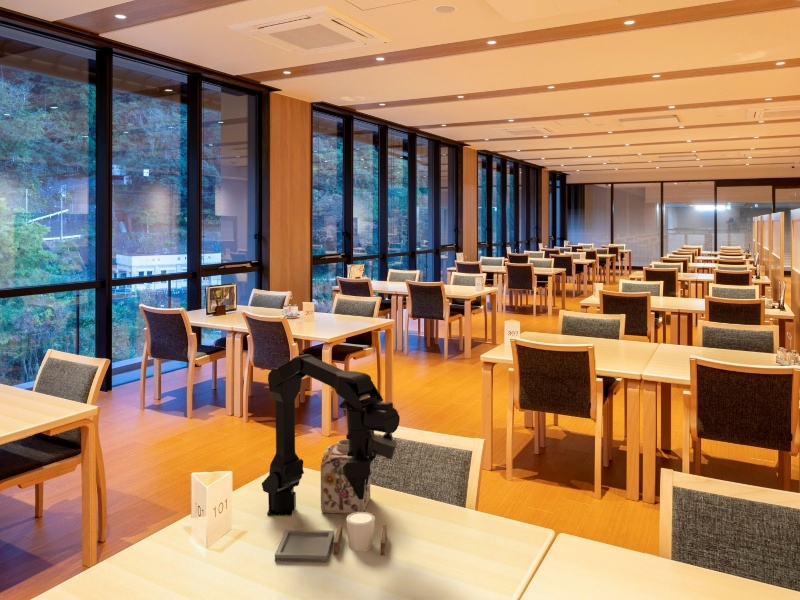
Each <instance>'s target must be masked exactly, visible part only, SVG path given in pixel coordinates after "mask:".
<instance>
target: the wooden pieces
mask: <svg viewBox="0 0 800 600" xmlns="http://www.w3.org/2000/svg"><path fill="white" fill-rule="evenodd" d="M387 526H388V525H387V524H383V525H382V526H381V527H382V528H381V535H380V544H379V545H380V551H379V553H380V554H379V555H380V556H385V555H386V545H387V538H388V537H387V536H388V534H387V533H388V531H387V529H388V527H387ZM342 539H343V524H341V523H340V524H339V523H338V524H337V527H336V531H335V533H334V538H333V542H332V546H333V551H332V552H333V555H339V551H340V546H341V543H342Z"/></svg>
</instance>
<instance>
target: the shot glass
mask: <svg viewBox="0 0 800 600" xmlns="http://www.w3.org/2000/svg"><path fill="white" fill-rule="evenodd" d="M375 521H376V517H375V515H373V513H371V512H365V511H364V512H356V513H352V514H347V517H346V526H347V527H346V528H347V529H346V530H347V537H348V538H347V539H348V547H349V548H350V549H351V550H352V551H355V552H365V551H369V550H370V549H372V547H373V542H374V533H375V532H374V531H375Z"/></svg>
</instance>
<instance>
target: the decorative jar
mask: <svg viewBox="0 0 800 600" xmlns="http://www.w3.org/2000/svg"><path fill="white" fill-rule="evenodd" d="M348 450H349V447H348V439H339V440H338V441H337V443H334V444H331V445H328V446H327V447H326V448H325V449H324V452H323V454H322V455H323V456H322V458H321V462H320V510H321V511H320V512H321V513H323V514H324V513H325V514H340V515H341V514H342V515H350V514H352V513H356V512H365V510H366V508H367V506H368V504H369V501H370V499H371V475H370V476H369V479H368V485H365V491H364V498H363V499H358V497H357V495H356V493H355V491H354V490H353V488H352V486H351V484H350V483H349V481H348V479H347V478H346V477H345V475H343V465H344V463H345V461H346V460H347V459H348V458H352V456H348V454H347V452H348Z"/></svg>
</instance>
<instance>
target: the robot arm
mask: <svg viewBox="0 0 800 600" xmlns="http://www.w3.org/2000/svg"><path fill="white" fill-rule="evenodd" d="M306 376H308V377H310V378H312V379H314V380H316V381H318V382H321V383H323V384H325V385H327V386H329V387H331V388H332V389H334V391H335V393H336V395H338V396H339V397H340V398H342V399H343V401H342V402H341V403H340V404H339V405H338V407H339V408H340V409H344V410H345V414H346V415H345V416H346V428H347V430H346V431H347V433H346V435H345V436H346V437H345V438H346V439H348V447H349V450H348V452H347V454H348V456H352V458H348V459H347V460H346V461H345V463H344V465H343V475H345V477H346V478H347V479H348V481H349V483H350V484H351V486H352V488H353V490H354V491H355V493H356V495H357V497H358V499H363V498H364V491H365V485H368V479H369V476H370V477H371V474H372V471H373V469H372V468H373V465H372V464H373V463H372V462H373V461H374V460H375V458H376V457H377V456H381V457H384V458H385V459H388V460H392V459H394V458H393V457H394V454H395V450H396V447H397V443H398V442H397V441H396V439H393V433H395V432H396V431H397V429H398V427H399V425H400V419H401V418H400V415H399V412H398V410H397V409H396V408H395V407H394V405H393V403H392V402H388V401H387V402H383V401H384V398H383V397H382V395H381V393H380V392H379V391H378V389H377V387H376V385H375V384H374V382H373V381H372V376H370V375H369V374H368V373H365V372H362V371H361V372H360V371H355V370H354V371H353V370H352V371H351V370H344V369H341V368H339V367H336V366H334V365H332V364H329V363H327V362H326V361H323V360H320V359H318V358H316V357H315V356H314V355H312V354H309V353H306V354H301V355H297V356H294V357H293V358H292V359H290V360H289V361H288V362H286V363H284V364H283V365H281V366H279V367H276V368H273V369H271V370H270V372H269V373H268V375H267V384H268V390H269V393H270V394H271V396H272V397H273V399H274V401H275V402H274V403H275V455H274V456H273V458H272V460H271V462H270V465H269V473H268V476H267V477H266V478H265V479H264V481H262V482H261V487H262V491H263V492H265V493H267V494H268V497H267V498H268V510H267V512H266V515H267V516H292V514H293V513H294V511H295V510H296V508H297V492H296V491H294V490H295V487H297V486H299V485H300V481H301V480H302V478H303V475H304V474H305V472H304V460H303V459H302V458H300V457H299V456H298V455H297V452H296V411H295V410H296V398H297V397H298V395H299V393H300V391H301V387H302V380H303V379H304V377H306ZM375 432H380V433H383V435H376V434H375Z"/></svg>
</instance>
